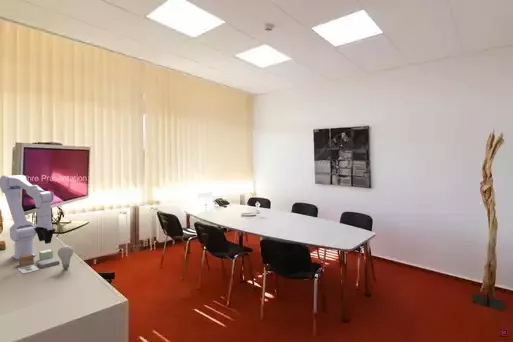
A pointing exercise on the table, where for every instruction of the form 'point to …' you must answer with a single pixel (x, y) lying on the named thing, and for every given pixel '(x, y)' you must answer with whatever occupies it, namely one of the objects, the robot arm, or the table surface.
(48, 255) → the block
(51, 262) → the slab
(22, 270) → the blueprint sheet
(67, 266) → the lightbulb
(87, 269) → the table surface
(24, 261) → the block
